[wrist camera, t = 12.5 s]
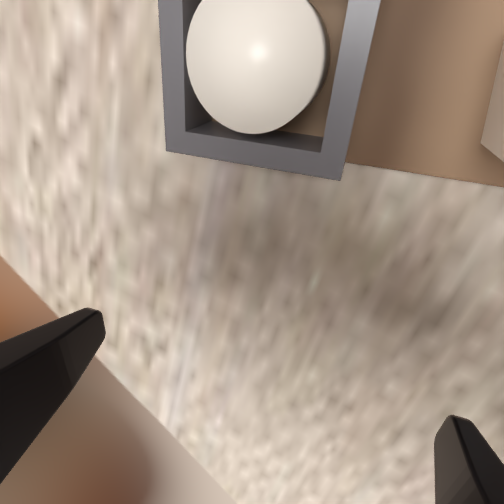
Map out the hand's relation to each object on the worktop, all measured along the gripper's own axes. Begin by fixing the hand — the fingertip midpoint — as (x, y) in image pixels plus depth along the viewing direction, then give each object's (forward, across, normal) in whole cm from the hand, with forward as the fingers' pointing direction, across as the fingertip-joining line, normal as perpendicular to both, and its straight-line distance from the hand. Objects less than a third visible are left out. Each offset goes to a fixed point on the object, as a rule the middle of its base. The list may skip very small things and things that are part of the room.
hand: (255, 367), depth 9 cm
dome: (+11, +3, -6) cm, 13 cm away
